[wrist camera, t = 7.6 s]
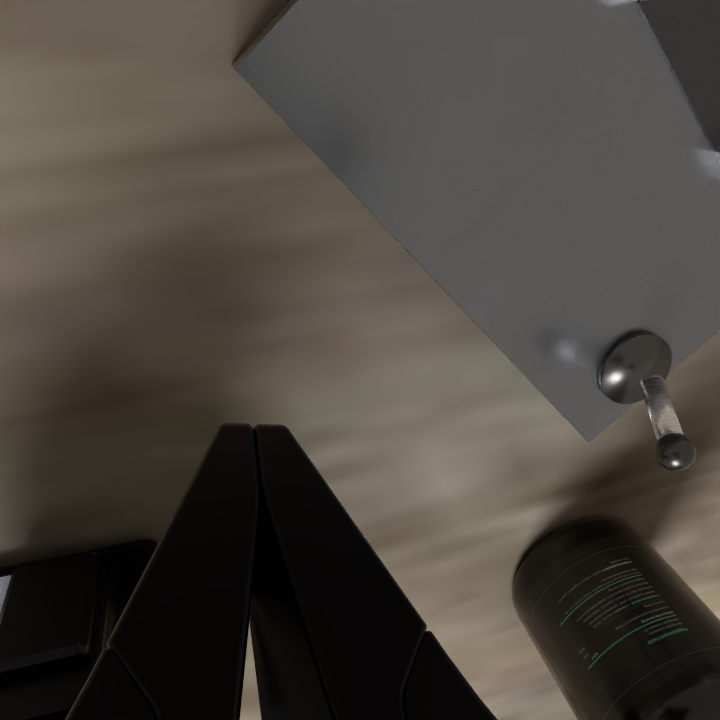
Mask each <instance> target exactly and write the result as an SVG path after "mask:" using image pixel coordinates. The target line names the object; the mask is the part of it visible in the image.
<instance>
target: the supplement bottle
mask: <svg viewBox="0 0 720 720" xmlns="http://www.w3.org/2000/svg"><path fill="white" fill-rule="evenodd" d="M512 596H513V603H514V607H515V610H516V613H517V615H518V617H519V618H520V620H521V622H522V624H523V626H524V627H525V629H526V631H527V633H528V635H529V636H530V638H531V640H532V642H533V643H534V645H535V647H536V649H537V650H538V652H539V654H540V655H541V657H542V659H543V661H544V662H545V664H546V666H547V668H548V669H549V671H550V673H551V675H552V676H553V678H554V680H555V681H556V683H557V685H558V687H559V688H560V690H561V692H562V694H563V695H564V697H565V699H566V700H567V702H568V704H569V706H570V707H571V709H572V711H573V713H574V714H575V716H576V718H577V720H720V620H719V619H718V618H717V617H716V616H715V614H714V613H713V612H712V611H711V610H710V609H709V608H708V607H707V606H706V605H705V603H704V602H703V601H702V600H701V599H700V598H699V597H698V596H697V595H696V594H695V592H694V591H693V590H692V589H691V588H690V587H689V586H688V585H687V584H686V583H685V581H684V580H683V579H682V578H681V577H680V576H679V575H678V574H677V573H676V572H675V570H674V569H673V568H672V567H671V566H670V565H669V564H668V563H667V562H666V561H665V559H664V558H663V557H662V556H661V555H660V554H659V553H658V552H657V551H656V550H655V548H654V547H653V546H652V545H651V544H650V543H649V542H648V541H647V540H646V539H645V538H644V537H643V536H642V535H641V534H640V533H639V532H638V531H637V530H636V529H635V528H633V527H632V526H630V525H629V524H627V523H625V522H622V521H620V520H616V519H612V518H589V519H584V520H580V521H576V522H573V523H571V524H568V525H566V526H564V527H562V528H560V529H558V530H556V531H554V532H553V533H551V534H550V535H548V536H547V537H545V538H544V539H543V540H542V541H540V542H539V543H538V544H537V545H536V546H535V547H534V548H533V549H532V550H531V551H530V552H529V554H528V555H527V556H526V557H525V559H524V560H523V562H522V563H521V565H520V567H519V569H518V571H517V574H516V576H515V580H514V584H513V592H512Z"/></svg>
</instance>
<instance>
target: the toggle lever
mask: <svg viewBox="0 0 720 720" xmlns="http://www.w3.org/2000/svg"><path fill="white" fill-rule="evenodd" d="M640 388H641V391H642V394H643V398H644V401H645V404H646V407H647V410H648V413H649V416H650V420H651V423H652V426H653V429H654V432H655V435H656V439H657V442H656V444H655V447H654V454H655V457H656V460H657V461H658V463H659V464H660V465H661V466H663V467H664V468H666V469H668V470H671V471H682V470H685V469H687V468H689V467H690V466H691V465H692V464H693V463H694V461H695V459H696V454H697V453H696V447H695V445H694V443H693V442H692V440H691V439H690V438H688V437H687V436H685V435H684V434H683V432H682V429H681V426H680V423H679V420H678V418H677V415H676V412H675V409H674V406H673V404H672V401H671V398H670V395H669V392H668V390H667V387H666V384H665V381H664V379H663V378H662V377H661V376H660V375H658V374H654V373H650V374H647V375H645V376H644V377H643V378H642V379H641V381H640Z"/></svg>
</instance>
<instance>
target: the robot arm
mask: <svg viewBox="0 0 720 720" xmlns="http://www.w3.org/2000/svg"><path fill="white" fill-rule="evenodd" d="M142 553H149V555H147V556H142V555H140V554H142ZM249 621H250V629H251V637H252V645H253V653H254V661H255V669H256V678H257V686H258V694H259V702H260V710H261V718H262V720H497V719H496V717H495V716H494V715H493V714H492V713H491V711H490V710H489V709H488V708H487V706H486V705H485V704H484V703H483V702H482V700H481V699H480V698H479V697H478V695H477V694H476V693H475V691H474V690H473V689H472V687H471V686H470V685H469V683H468V682H467V681H466V679H465V678H464V677H463V675H462V674H461V673H460V671H459V670H458V668H457V667H456V666H455V664H454V663H453V662H452V660H451V659H450V658H449V656H448V655H447V653H446V652H445V651H444V649H443V648H442V646H441V645H440V643H439V642H438V641H437V639H436V638H435V636H434V635H433V633H432V632H431V631H426V628H427V626H426V624H425V622H424V621H423V620H422V618H421V617H420V615H419V614H418V612H417V611H416V610H415V608H414V607H413V605H412V604H411V603H410V601H409V600H408V598H407V597H406V595H405V594H404V593H403V591H402V590H401V588H400V587H399V585H398V584H397V583H396V581H395V580H394V578H393V577H392V576H391V574H390V573H389V571H388V570H387V568H386V567H385V566H384V564H383V563H382V561H381V560H380V559H379V557H378V556H377V554H376V553H375V551H374V550H373V549H372V547H371V546H370V544H369V543H368V541H367V540H366V539H365V537H364V536H363V534H362V533H361V532H360V530H359V529H358V527H357V526H356V524H355V523H354V522H353V520H352V519H351V517H350V516H349V514H348V513H347V512H346V510H345V509H344V507H343V506H342V505H341V503H340V502H339V500H338V499H337V497H336V496H335V495H334V493H333V492H332V490H331V489H330V488H329V486H328V485H327V483H326V482H325V480H324V479H323V478H322V476H321V475H320V473H319V472H318V470H317V469H316V468H315V466H314V465H313V463H312V462H311V461H310V459H309V458H308V456H307V455H306V453H305V452H304V451H303V449H302V448H301V446H300V445H299V443H298V442H297V441H296V439H295V438H294V436H293V435H292V434H291V432H290V431H289V429H288V428H287V427H285V426H284V425H270V424H258V425H256V426H255V427H254V428H253V427H252V426H251V425H250V424H238V423H223V424H222V425H220V426H219V428H218V430H217V432H216V434H215V435H214V437H213V439H212V441H211V443H210V445H209V447H208V449H207V451H206V453H205V455H204V457H203V459H202V461H201V462H200V464H199V466H198V468H197V470H196V472H195V474H194V476H193V478H192V480H191V482H190V484H189V486H188V487H187V489H186V491H185V493H184V495H183V497H182V499H181V501H180V503H179V505H178V507H177V509H176V511H175V513H174V514H173V516H172V518H171V520H170V522H169V524H168V526H167V528H166V530H165V532H164V534H163V536H162V538H161V540H160V541H159V543H158V544H157V543H155V542H154V541H151V540H140V541H136V542H131V543H126V544H121V545H116V546H111V547H106V548H101V549H96V550H91V551H87V552H82V553H77V554H72V555H67V556H62V557H57V558H52V559H47V560H43V561H38V562H33V563H28V564H23V565H18V566H13V567H8V568H3V569H0V720H239V719H240V709H241V699H242V689H243V679H244V669H245V658H246V648H247V638H248V628H249Z"/></svg>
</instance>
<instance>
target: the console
mask: <svg viewBox="0 0 720 720" xmlns="http://www.w3.org/2000/svg"><path fill="white" fill-rule="evenodd" d="M231 65H232V66H233V67H234V68H235V69H236V70H237V71H238V73H239V74H240V75H241V76H242V77H243V78H244V79H245V80H246V81H247V82H248V83H249V84H250V85H251V86H252V87H253V88H254V89H255V91H256V92H257V93H258V94H259V95H260V96H261V97H262V98H263V99H264V100H265V101H266V102H267V103H268V104H269V105H270V106H271V107H272V109H273V110H274V111H275V112H276V113H277V114H278V115H279V116H280V117H281V118H282V119H283V120H284V121H285V122H286V123H287V124H288V125H289V127H290V128H291V129H292V130H293V131H294V132H295V133H296V134H297V135H298V136H299V137H300V138H301V139H302V140H303V141H304V142H305V143H306V144H307V146H308V147H309V148H310V149H311V150H312V151H313V152H314V153H315V154H316V155H317V156H318V157H319V158H320V159H321V160H322V161H323V162H324V164H325V165H326V166H327V167H328V168H329V169H330V170H331V171H332V172H333V173H334V174H335V175H336V176H337V177H338V178H339V179H340V180H341V182H342V183H343V184H344V185H345V186H346V187H347V188H348V189H349V190H350V191H351V192H352V193H353V194H354V195H355V196H356V197H357V198H358V200H359V201H360V202H361V203H362V204H363V205H364V206H365V207H366V208H367V209H368V210H369V211H370V212H371V213H372V214H373V215H374V216H375V218H376V219H377V220H378V221H379V222H380V223H381V224H382V225H383V226H384V227H385V228H386V229H387V230H388V231H389V232H390V233H391V234H392V235H393V237H394V238H395V239H396V240H397V241H398V242H399V243H400V244H401V245H402V246H403V247H404V248H405V249H406V250H407V251H408V252H409V253H410V255H411V256H412V257H413V258H414V259H415V260H416V261H417V262H418V263H419V264H420V265H421V266H422V267H423V268H424V269H425V270H426V271H427V273H428V274H429V275H430V276H431V277H432V278H433V279H434V280H435V281H436V282H437V283H438V284H439V285H440V286H441V287H442V288H443V289H444V291H445V292H446V293H447V294H448V295H449V296H450V297H451V298H452V299H453V300H454V301H455V302H456V303H457V304H458V305H459V306H460V307H461V308H462V310H463V311H464V312H465V313H466V314H467V315H468V316H469V317H470V318H471V319H472V320H473V321H474V322H475V323H476V324H477V325H478V326H479V328H480V329H481V330H482V331H483V332H484V333H485V334H486V335H487V336H488V337H489V338H490V339H491V340H492V341H493V342H494V343H495V344H496V346H497V347H498V348H499V349H500V350H501V351H502V352H503V353H504V354H505V355H506V356H507V357H508V358H509V359H510V360H511V361H512V362H513V364H514V365H515V366H516V367H517V368H518V369H519V370H520V371H521V372H522V373H523V374H524V375H525V376H526V377H527V378H528V379H529V380H530V382H531V383H532V384H533V385H534V386H535V387H536V388H537V389H538V390H539V391H540V392H541V393H542V394H543V395H544V396H545V397H546V398H547V399H548V401H549V402H550V403H551V404H552V405H553V406H554V407H555V408H556V409H557V410H558V411H559V412H560V413H561V414H562V415H563V416H564V417H565V419H566V420H567V421H568V422H569V423H570V424H571V425H572V426H573V427H574V428H575V429H576V430H577V431H578V432H579V433H580V434H581V435H582V436H583V437H584V438H585V439H586V440H587V441H588V442H590V441H591V440H592V439H594V438H595V437H596V436H597V435H598V434H599V433H600V432H602V431H603V430H604V429H605V428H606V427H607V426H609V425H610V424H611V423H612V422H613V421H614V420H616V419H617V418H618V417H619V416H620V415H621V414H622V413H624V412H625V411H626V410H627V409H628V408H629V407H631V406H632V405H633V404H634V403H635V402H638V401H641V400H643V399H644V398H643V394H642V391H641V388H640V381H641V379H642V378H643V377H644V376H645V375H647V374H650V373H654V374H658V375H660V376H661V377H662V378H663V379H664V380H665V379H666V377H667V375H668V374H669V373H670V372H671V371H672V370H673V369H675V368H676V367H677V366H678V365H679V364H680V363H681V362H683V361H684V360H685V359H686V358H687V357H688V356H690V355H691V354H692V353H693V352H694V351H695V350H696V349H698V348H699V347H700V346H701V345H702V344H703V343H705V342H706V341H707V340H708V339H709V338H710V337H712V336H713V335H714V334H715V333H716V332H717V331H718V330H720V0H289V1H288V3H287V4H286V5H285V6H284V7H283V8H282V9H281V10H280V11H279V13H278V14H277V15H276V16H275V17H274V18H273V19H272V20H271V21H270V22H269V24H268V25H267V26H266V27H265V28H264V29H263V30H262V31H261V32H260V34H259V35H258V36H257V37H256V38H255V39H254V40H253V41H252V42H251V43H250V45H249V46H248V47H247V48H246V49H245V50H244V51H243V52H242V53H241V55H240V56H239V57H238V58H237V59H236V60H235V61H234V62H233V63H232V64H231Z"/></svg>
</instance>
